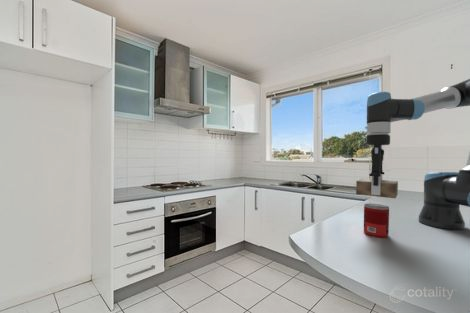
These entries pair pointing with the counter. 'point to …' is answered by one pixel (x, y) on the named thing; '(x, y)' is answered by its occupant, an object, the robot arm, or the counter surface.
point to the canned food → (376, 220)
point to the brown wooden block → (386, 188)
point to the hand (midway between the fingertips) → (376, 192)
